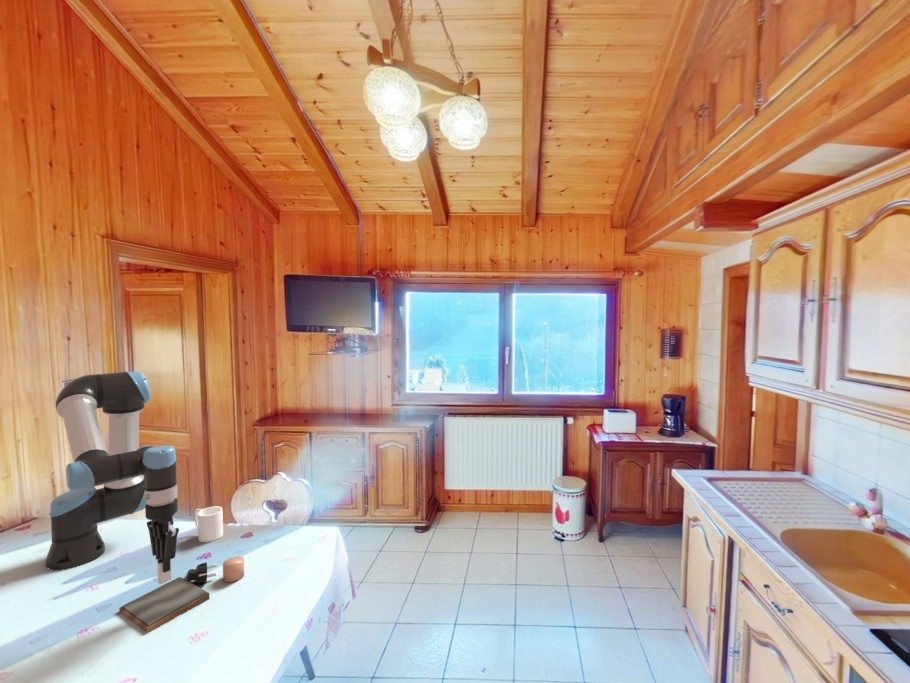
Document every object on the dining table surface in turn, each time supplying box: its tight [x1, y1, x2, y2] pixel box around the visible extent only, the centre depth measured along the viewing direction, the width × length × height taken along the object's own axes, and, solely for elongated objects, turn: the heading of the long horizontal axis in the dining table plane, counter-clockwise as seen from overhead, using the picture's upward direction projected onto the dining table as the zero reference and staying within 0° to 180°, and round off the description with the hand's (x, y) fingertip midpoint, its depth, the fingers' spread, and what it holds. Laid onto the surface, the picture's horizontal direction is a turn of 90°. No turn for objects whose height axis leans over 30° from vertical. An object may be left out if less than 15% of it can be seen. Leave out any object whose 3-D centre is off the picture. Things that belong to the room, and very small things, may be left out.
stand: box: [119, 576, 210, 634], centre depth 118 cm, size 16×16×2 cm
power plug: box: [187, 562, 217, 585], centre depth 132 cm, size 6×8×12 cm
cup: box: [194, 505, 224, 543], centre depth 158 cm, size 8×12×10 cm
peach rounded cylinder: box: [222, 556, 245, 583], centre depth 132 cm, size 6×6×5 cm
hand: (164, 580), depth 118 cm, fingers closed
